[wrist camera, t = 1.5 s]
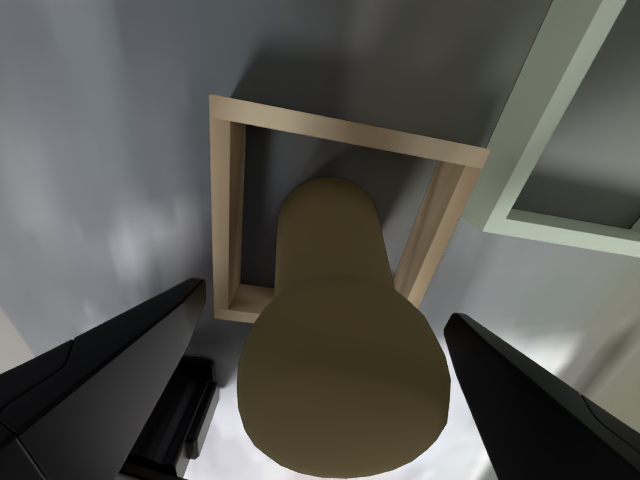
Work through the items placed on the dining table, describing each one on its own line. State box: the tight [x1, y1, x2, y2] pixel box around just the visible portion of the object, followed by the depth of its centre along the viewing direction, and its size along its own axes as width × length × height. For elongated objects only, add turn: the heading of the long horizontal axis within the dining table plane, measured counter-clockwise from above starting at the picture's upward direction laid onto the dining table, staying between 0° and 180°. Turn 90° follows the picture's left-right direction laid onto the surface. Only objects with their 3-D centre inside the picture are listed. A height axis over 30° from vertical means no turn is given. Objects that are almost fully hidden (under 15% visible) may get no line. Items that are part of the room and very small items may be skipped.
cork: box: [237, 177, 451, 479], centre depth 10 cm, size 6×6×11 cm
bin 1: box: [209, 94, 491, 323], centre depth 14 cm, size 12×12×2 cm
